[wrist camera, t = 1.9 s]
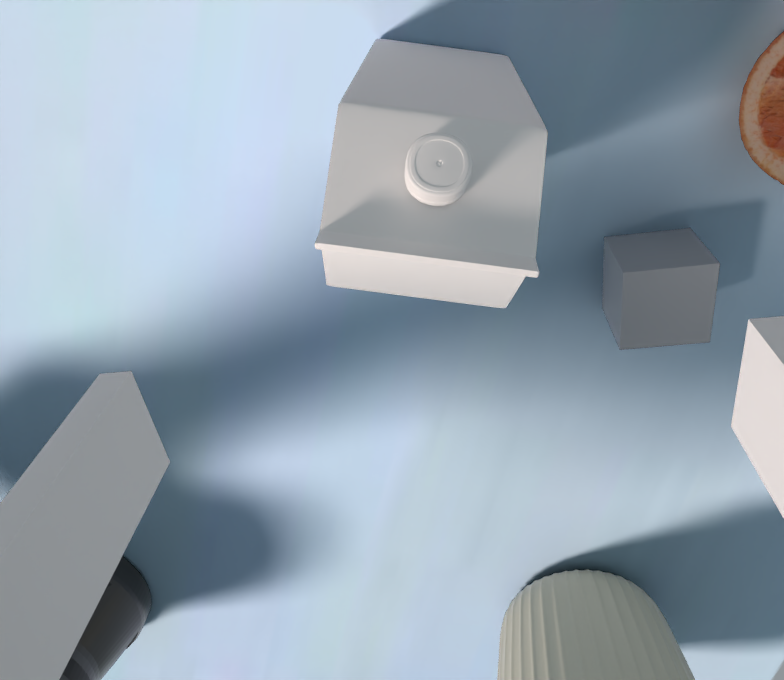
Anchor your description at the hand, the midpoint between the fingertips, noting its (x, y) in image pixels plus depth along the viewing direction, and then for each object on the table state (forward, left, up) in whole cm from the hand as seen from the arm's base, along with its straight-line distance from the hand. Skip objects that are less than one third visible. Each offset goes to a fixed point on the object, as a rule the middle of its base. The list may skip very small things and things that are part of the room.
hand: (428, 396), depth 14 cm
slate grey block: (+12, -11, -26) cm, 31 cm away
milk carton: (0, 0, -27) cm, 27 cm away
